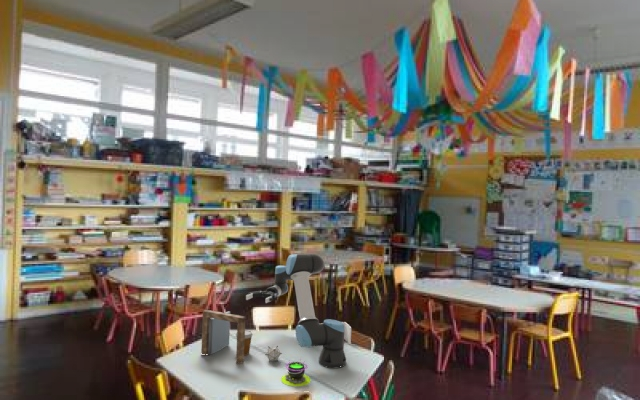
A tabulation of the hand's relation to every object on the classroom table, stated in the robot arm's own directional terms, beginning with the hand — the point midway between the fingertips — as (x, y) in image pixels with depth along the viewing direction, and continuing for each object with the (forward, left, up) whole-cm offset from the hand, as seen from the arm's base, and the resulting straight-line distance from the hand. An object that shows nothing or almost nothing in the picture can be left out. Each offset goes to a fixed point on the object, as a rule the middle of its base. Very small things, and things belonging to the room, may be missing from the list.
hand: (256, 299), depth 277 cm
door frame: (-18, +22, -27) cm, 40 cm away
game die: (-29, -4, -28) cm, 40 cm away
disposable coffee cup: (-13, +10, -28) cm, 32 cm away
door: (-5, +23, -27) cm, 36 cm away
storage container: (-10, -45, -28) cm, 54 cm away
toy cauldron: (-55, -8, -28) cm, 62 cm away
